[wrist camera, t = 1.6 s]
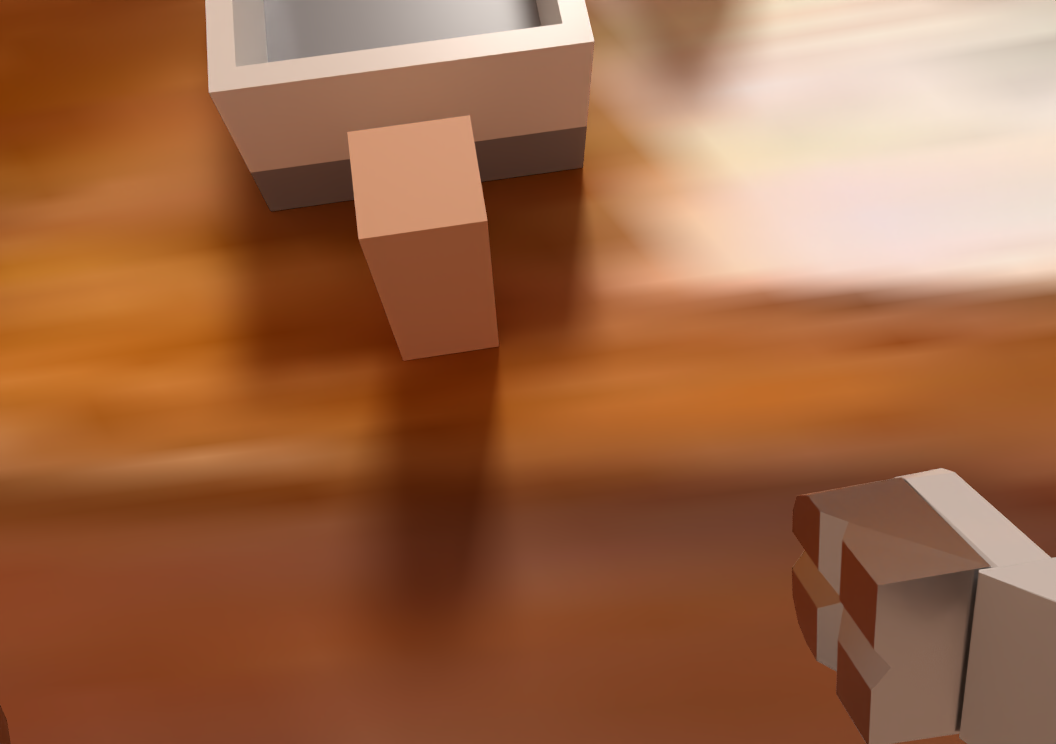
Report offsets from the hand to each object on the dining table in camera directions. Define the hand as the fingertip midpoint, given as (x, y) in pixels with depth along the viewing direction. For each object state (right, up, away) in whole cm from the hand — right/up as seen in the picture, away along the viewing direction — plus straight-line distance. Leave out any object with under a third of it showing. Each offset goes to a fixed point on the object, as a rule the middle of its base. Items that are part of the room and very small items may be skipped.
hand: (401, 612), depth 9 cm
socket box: (-5, +19, +34) cm, 39 cm away
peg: (-2, +5, +28) cm, 29 cm away
